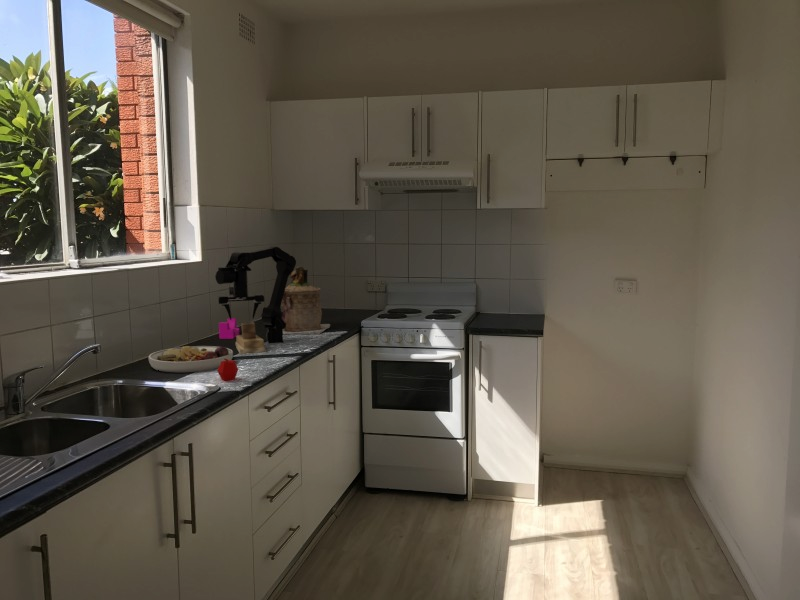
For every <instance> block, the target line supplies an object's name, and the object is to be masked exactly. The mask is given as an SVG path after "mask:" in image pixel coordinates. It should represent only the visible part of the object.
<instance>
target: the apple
mask: <svg viewBox="0 0 800 600" xmlns="http://www.w3.org/2000/svg"><path fill="white" fill-rule="evenodd" d="M224 360H226V361H221V363H220V366H219V368H217V373H218V375H219V377H220V380H222V381H224V382H231V381H230V380H233V381H235V379H236V376H237V374H238V372H239V368H238V366H237V363H236V361H235V360H228V359H225V358H224Z"/></svg>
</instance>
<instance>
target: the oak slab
mask: <svg viewBox="0 0 800 600" xmlns="http://www.w3.org/2000/svg"><path fill="white" fill-rule="evenodd" d="M235 339H236V341H235V342H236V343H238V344H239V345H240V346H241V347H242V348H244V349H250V348H261V347H265V340H264V339H263V338H262V337H260V336H259V335H257V334H256V338H251V339H243V337H242V334H239V335H238V336H236V337H235Z"/></svg>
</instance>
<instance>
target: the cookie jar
mask: <svg viewBox="0 0 800 600" xmlns="http://www.w3.org/2000/svg"><path fill="white" fill-rule="evenodd" d="M289 278H290V279H291V280H292V281H291V283H289V284H288V286H287V285H286V287H285V291H284V295H283V299H282V303H281V307H282V308H283V312H282V317H281V319H282V320H283V321H284V322H285V323H286V328H285V329H283V335H287V334H288V335H318V336H319V335H320V334H321V333H323V332H325V330H327V329H329V328H330V327H331V324H330V323H322V324H321V321H322V315H323V311H322V305H321V304H322V303H321V297H320V294H321V292H322V289H321V288H320V287H315V286H314V285H311V284H310V283H309V282H308V269H307V268H305V267H303V266H302V265H301V266H295V270H293V272H292V273H291V274H290V275H289Z"/></svg>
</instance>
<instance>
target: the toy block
mask: <svg viewBox="0 0 800 600" xmlns="http://www.w3.org/2000/svg"><path fill="white" fill-rule="evenodd" d="M226 320H227V321H225V322H223V321H220V322H218V330H219V331H218V332H219V333H218V335H219V339H221V340H222V339H225V340H226V339H229V340H230V339H236V336H238V335H240V328H239V327H238V326H237V324H238V323H237V321H238V320H237V318H232V317H231V320H230V318H229V317H228V318H227V319H226Z"/></svg>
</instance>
